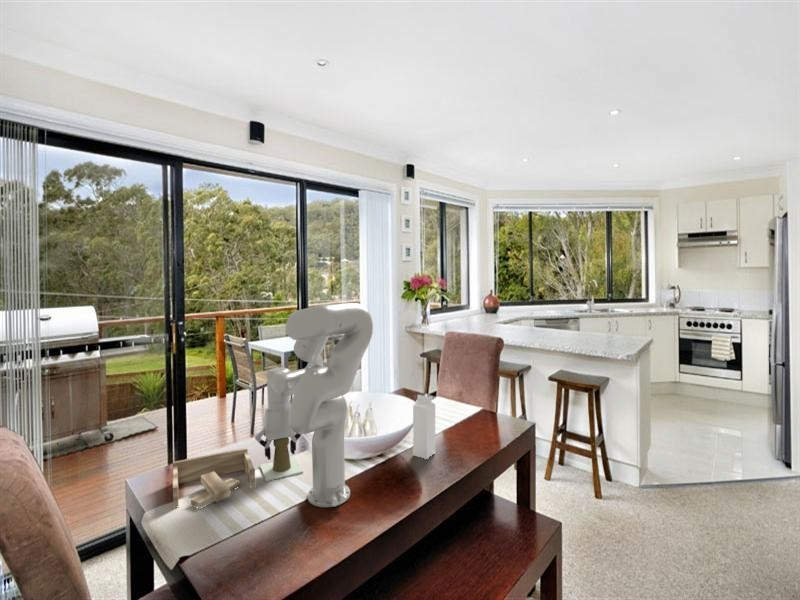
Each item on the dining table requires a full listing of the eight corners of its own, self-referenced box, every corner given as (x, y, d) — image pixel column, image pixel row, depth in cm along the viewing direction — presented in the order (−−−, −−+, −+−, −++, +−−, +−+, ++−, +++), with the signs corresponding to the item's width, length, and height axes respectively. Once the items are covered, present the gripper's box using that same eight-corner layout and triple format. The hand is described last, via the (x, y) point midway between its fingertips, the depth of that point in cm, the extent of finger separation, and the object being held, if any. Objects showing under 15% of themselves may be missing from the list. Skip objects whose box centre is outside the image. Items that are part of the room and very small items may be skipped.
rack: (255, 488, 128) (254, 466, 128) (173, 508, 118) (172, 484, 117) (247, 466, 143) (246, 447, 142) (174, 483, 132) (173, 461, 131)
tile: (303, 473, 138) (303, 471, 138) (266, 481, 132) (266, 480, 132) (294, 458, 149) (294, 457, 149) (259, 466, 143) (259, 464, 143)
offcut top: (214, 478, 131) (214, 471, 131) (230, 496, 120) (230, 488, 120) (200, 483, 128) (200, 475, 128) (216, 501, 118) (215, 493, 118)
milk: (422, 449, 156) (422, 392, 154) (435, 454, 152) (435, 395, 151) (412, 455, 151) (412, 396, 149) (426, 459, 147) (426, 399, 146)
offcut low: (240, 488, 130) (239, 481, 129) (199, 511, 117) (199, 503, 117) (231, 485, 132) (231, 478, 131) (191, 507, 119) (190, 499, 119)
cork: (285, 472, 137) (285, 440, 136) (269, 471, 138) (268, 439, 137) (294, 464, 143) (293, 433, 142) (278, 463, 144) (277, 432, 143)
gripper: (301, 397, 146) (303, 446, 148) (250, 405, 138) (252, 456, 139) (307, 403, 140) (308, 454, 141) (254, 412, 131) (255, 465, 133)
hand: (280, 455), depth 140 cm, fingers open, 7 cm apart
